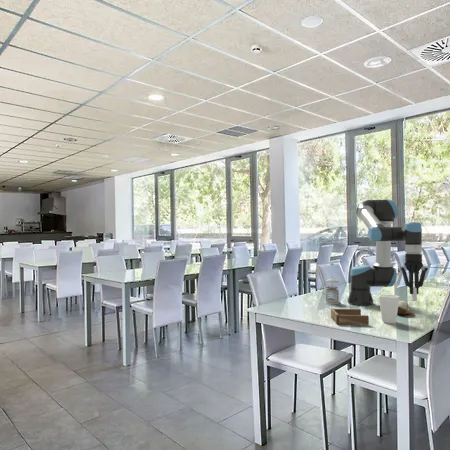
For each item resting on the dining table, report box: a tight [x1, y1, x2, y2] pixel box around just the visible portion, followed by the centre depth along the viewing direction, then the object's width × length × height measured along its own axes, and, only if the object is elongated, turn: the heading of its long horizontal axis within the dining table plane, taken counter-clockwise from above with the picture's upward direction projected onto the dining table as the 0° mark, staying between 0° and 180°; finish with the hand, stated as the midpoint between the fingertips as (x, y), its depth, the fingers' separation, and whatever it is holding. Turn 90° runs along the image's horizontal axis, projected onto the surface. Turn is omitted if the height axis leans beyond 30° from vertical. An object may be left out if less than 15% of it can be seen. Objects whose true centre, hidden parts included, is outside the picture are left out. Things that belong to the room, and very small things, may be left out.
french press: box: [320, 262, 341, 305], centre depth 247 cm, size 10×12×25 cm
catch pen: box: [330, 308, 370, 326], centre depth 197 cm, size 16×15×4 cm
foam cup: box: [378, 293, 400, 324], centre depth 195 cm, size 10×9×13 cm
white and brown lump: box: [397, 300, 416, 318], centre depth 212 cm, size 12×10×10 cm
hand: (414, 300), depth 194 cm, fingers closed
